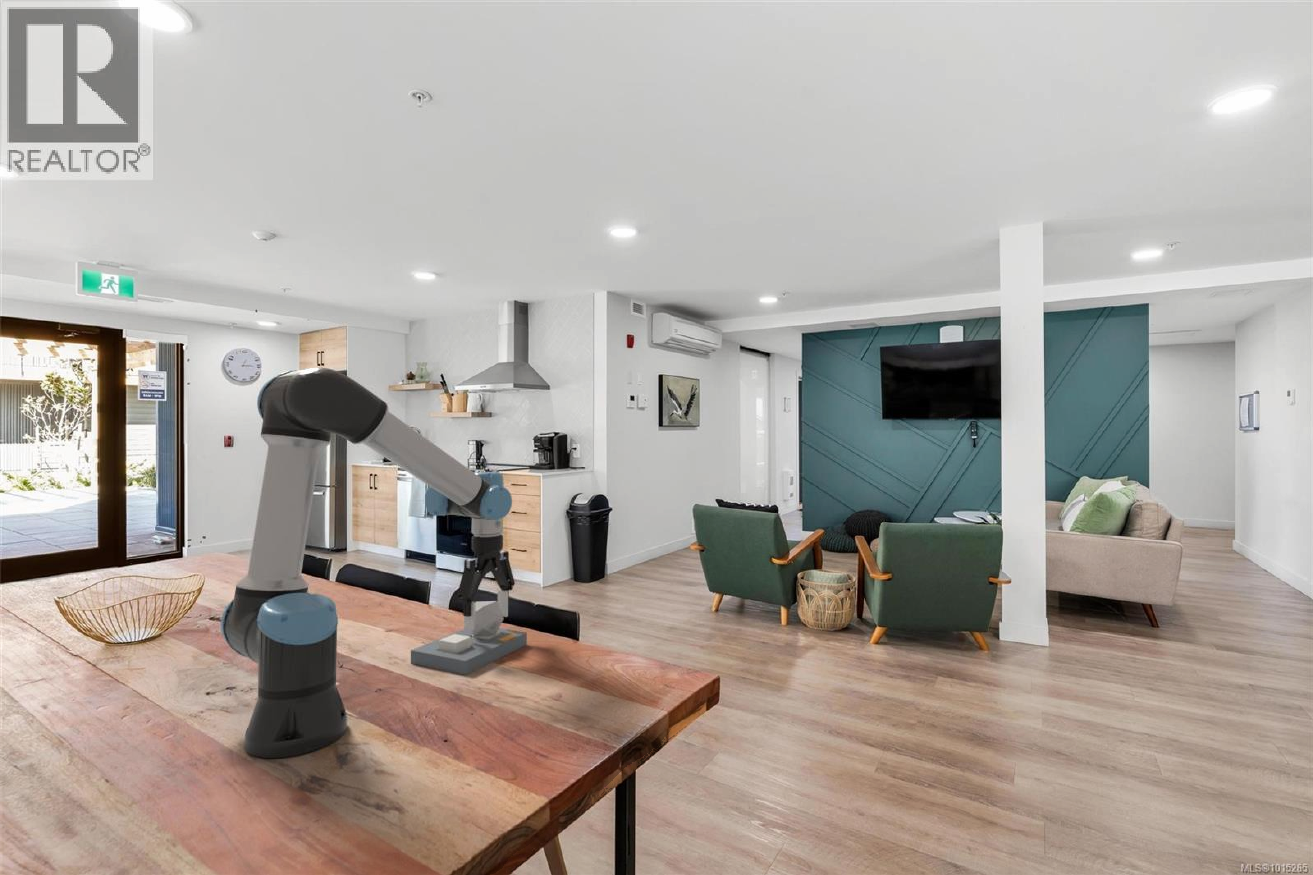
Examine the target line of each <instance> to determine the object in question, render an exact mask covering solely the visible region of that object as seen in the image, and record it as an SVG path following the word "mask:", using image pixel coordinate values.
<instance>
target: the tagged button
mask: <svg viewBox="0 0 1313 875" xmlns="http://www.w3.org/2000/svg"><path fill="white" fill-rule="evenodd" d="M500 634H501V632H497V633H496V635H491V636H474V635H472V637H475V638H481V639H487V640H489V639H491V638H493V637H496V636H498V635H500Z"/></svg>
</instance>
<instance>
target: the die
mask: <svg viewBox="0 0 1313 875" xmlns="http://www.w3.org/2000/svg"><path fill="white" fill-rule="evenodd" d="M504 618H505V617H503V616H502V613H501V610H500V608H499V605H498V600H493V601H492V600H490V601H487V600H486V601H483V600H482V601H481V600H480V601H475V630H472V632H473V635H474V636H491V635H496V633H497V631H498V629H499V628H500V627H501V624H502V622H503V621H504Z"/></svg>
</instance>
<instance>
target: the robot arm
mask: <svg viewBox="0 0 1313 875" xmlns="http://www.w3.org/2000/svg"><path fill="white" fill-rule="evenodd" d="M256 402H257V404H256V405H257V410H258V414H259V416H260V417H261V419H262V425H261V430H260V437H261V439H262V440H263V441H264V442H265V443H266V444H267V446H268V447H267V452H266V453H267V454H266V459H265V465H264V471H263V479H262V485H261V490H260V497H259V504H258V508H257V515H256V521H255V522H256V523H255V528H254V535H253V540H252V547H251V551H250V558H249V565H248V570H247V574H246V576H244V577H243V578H241V579H240V580H239V581H238V582H237V583H236V585H235V591H234V595H233V596H234V597H233V599H232V600H231V601H230V602H229V603H228V604H227V606H225V609H224V611H223V613H222V617H221V621H220V631H221V635H222V637H223V639H224V641H225V642H226V644H227V645H228V646H229V647H230V648H231V649H232V650H233V651H235V653H237V654H238V655H241V656H242V657H246V658H248V659H250V660H251V661H253V662H255V663H256V664H257V665H258V666H257V672H258V674H257V700H256V703H255V706H254V708H253V711H252V714H251V718H250V720H249V723H248V727H247V729H246V731H245V734H244V750H245V752H246V753H247V754H249V755H251V756H252V757H256V758H261V759H281V758H288V757H290V758H291V757H295V756H298V755H299V756H300V755H303V754H308V753H310V752H313V751H316V750H319V749H321V748H324V747H326V746H329V745H330V744H332V743H334V742H335V741H337V740H338V739H339V738H341V737H342V736H343V735H344V733H346V731H347V729H348V715H347V712H346V707H345V706H344V703H343V700H342V697H341V694H340V691H339V689H338V687H337V655H338V654H337V652H338V651H337V650H338V649H337V648H338V646H337V645H338V644H337V643H338V642H337V641H338V640H337V639H338V626H339V625H338V624H339V618H338V614H337V605H336V602H334V601H333V600H332V599H331V598H330V597H328V596H326V595H323V594H319V593H310V592H308V590H309V583H308V582H307V581H306V580H305V579H304V577H303V575H302V570H303V563H304V558H305V551H306V543H307V538H308V533H309V532H308V530H309V524H310V519H311V518H310V517H311V511H312V505H313V498H314V492H315V485H316V478H317V472H318V466H319V465H318V464H319V459H320V453H321V452H322V450H323V449H325V448H326V447H327V446H329V445H330V444H331V437H332V434H334V435H337V436H339V437H341V438H343V439H345V440H347V441H349V442H350V443H351V444H353V445H360V444H363V445H365V446H366V447H368V448H370V449H371V450H372V451H374V452H375V453H377V454H379V455H381V456H382V457H384V458H385V459H386V460H388V461H389V462H391V463H392V464H394V465H396V466H398V467H399V468H401V469H402V470H404V471H405V472H407V473H408V474H410V475H412V476H413V477H415V478H416V479H417V480H419V481H421V482H422V483H424V484H426V485H427V486H428V487H427V488H426V491H425V494H424V504H425V508H426V510H427V512H428V513H429V514H430V515H432V516H443V517H445V516H449V515H450V516H451V515H452V516H453V515H455V516H459V517H460V516H463V517H468V518H469V517H470V518H471V534H473V535H472V537H471V550H472V552H473V553H474V556H473V558H465V559H464V562H463V564H464V565H463V566H464V567H463V572H462V576H461V579H460V583H459V587H458V591H457V594H456V601H457V602H462V615H463V618H464V620H463V626H464V627H463V629H468V630H475V603H476V601H474V599H475V597H476V595H477V592H478V590H479V588H480V585H481V583H482V580H483V578H484V577H486V574H489V573H491V574H492V575H493V578H494V579H495V582H496V584H497V586H498V587H499V588H500V589H498V590H497V602H498V605H499V608H500V610H501V613H502V616H503V618H507V617H508V616H509V600H510V595H509V594H510V593H509V592H510V591H513V588H514V586H515V585H516V584H515V583H516V582H515V579H514V575H513V571H512V568H511V563H510V560H509V557H510V554H509V551H507V550H503V548H504V536H503V535H502V533H503V532H504V518H505V517H507V516H508V514H509V513H510V511H511V509H512V505H513V496H512V494H511V492H510V491H509V489H508V488H506V487H505V486H504V476H503V475H502V473H500V472H497V471H494V472H493V471H482V472H480V471H479V472H474V471H472V470H470V469H469V468H468V467H467V466H465V465H464V464H463V463H461V462H460V461H458V460H457V459H455V458H454V457H453V456H451V455H450V454H448V453H447V452H445V451H444V450H443V449H442V448H440V447H439V446H437V445H436V444H434V442H432V441H430V440H429V439H427V438H426V437H425V436H423V435H422V434H421V433H419V432H418V431H417V430H415V429H414V428H413V427H411V426H410V425H408V424H407V423H405V422H404V421H403V420H401V418H398V417H397V416H395V415H394V414H393V413H392V412H390V411H389V404H388V403H386V402H385V401H384V400H383V399H381V398H380V397H379V396H378V395H376V394H374V393H373V392H372V391H370V390H369V389H367V388H366V387H365V386H363V385H362V384H360V383H359V382H358V381H356V380H354V379H352V378H351V377H349V376H348V375H346V374H344V373H342V372H341V371H340V372H339V371H337V370H335V369H331V368H326V367H312V368H307V369H301V370H289V371H285V372H282V373H280V374H278V375H276V376H274V377H272V378H271V379H269V380H268V381H267V382H266V383H264V385H263V386H262V387H261V388H260V391H259V393H258V396H257V401H256Z"/></svg>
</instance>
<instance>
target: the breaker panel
mask: <svg viewBox="0 0 1313 875" xmlns="http://www.w3.org/2000/svg"><path fill="white" fill-rule="evenodd" d="M497 632H501V634H500V635H498V636H496V637H493V638H491V639H489V640H487V639H481V638H475V637H472V635H473V632H472V630H468V629H464V628H463V629H461V630H459V631H456V632H454V633H451V634H448V635H446V636H443V637H440V638H438V639H435V640H432V641H430V642H428V643H425V644H423V645H420V646H419V647H415V648H413V649H411V650H410V664H412V665H416V664H418V666H421V665H422V666H421V667H425V668H431V669H435V668H436V670H441V671H444V672H445V671H446V672H450V673H454V674H459V673H460V674H459V675H464V676H465V675H467V674H470V673H472V672H474V671H476V670H478V669H479V668H483V667H484V666H486V665H488V664H491V663H493V662H494V661H496V660H498V659H500V658H502V657H504V655H505V656H506V655H509V654H510V653H513V652H514V651H517V650H518V649H521V648H523V647H525V646H527V642H528V641H527V640H528V639H527V634H528V633H527V632H525V631H520V630H513V629H507V628H506V629H505V628H500V627H499V629H498V631H497ZM453 634H457V635H463V636H469V637H471V648H468V649H466V650H464V651H462V652H459V653H457V654H453V653H448V652H443V651H439V640H441V639H443V638H446V637H448V636H451V635H453ZM522 646H523V647H522ZM477 668H478V669H477Z"/></svg>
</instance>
